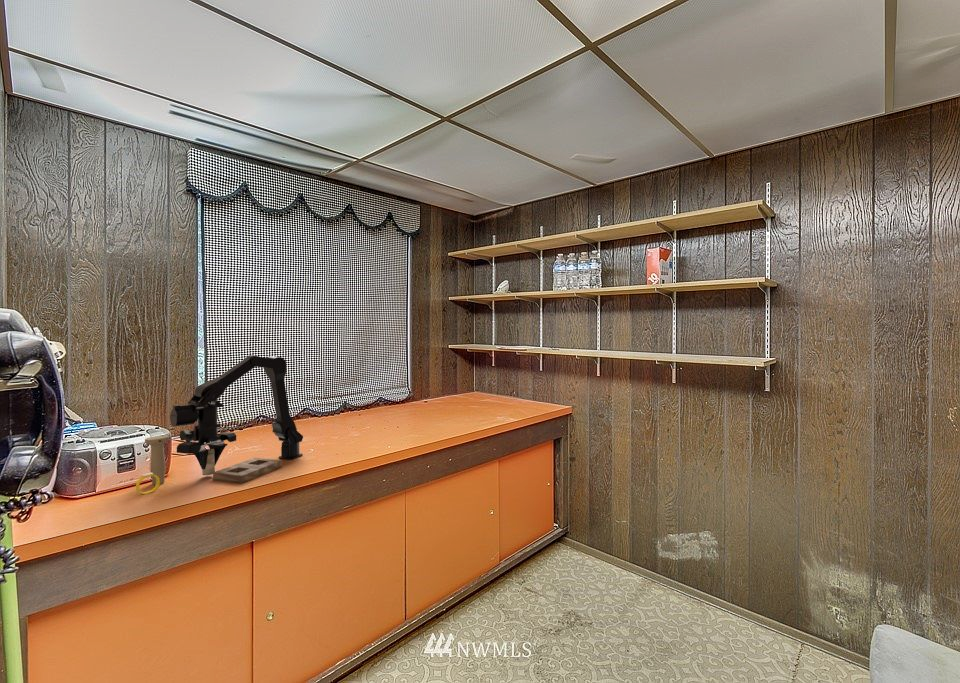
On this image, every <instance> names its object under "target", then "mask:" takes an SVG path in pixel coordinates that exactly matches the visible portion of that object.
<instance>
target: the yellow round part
mask: <svg viewBox="0 0 960 683" xmlns="http://www.w3.org/2000/svg"><path fill="white" fill-rule="evenodd" d="M151 476H154V477H155V478H156V482H157V483H156V485H154V487H153V488H152V489H151V490H148V491H144V492H143V491H141V489H140V484H141V483H142V481H143V480H144V479H146V478H151ZM160 485H161V484H160V479H159V478H158V476H156V475H153V473H152V472H150V471H149V472H146V473H142V474H141V476H140V478H139V479H138V480H137V481H136V483H135V490H136V491H137V493H139V494H142V495H148V494H151V493H154V492H156V491H157V490H158V488H159V487H160Z"/></svg>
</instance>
